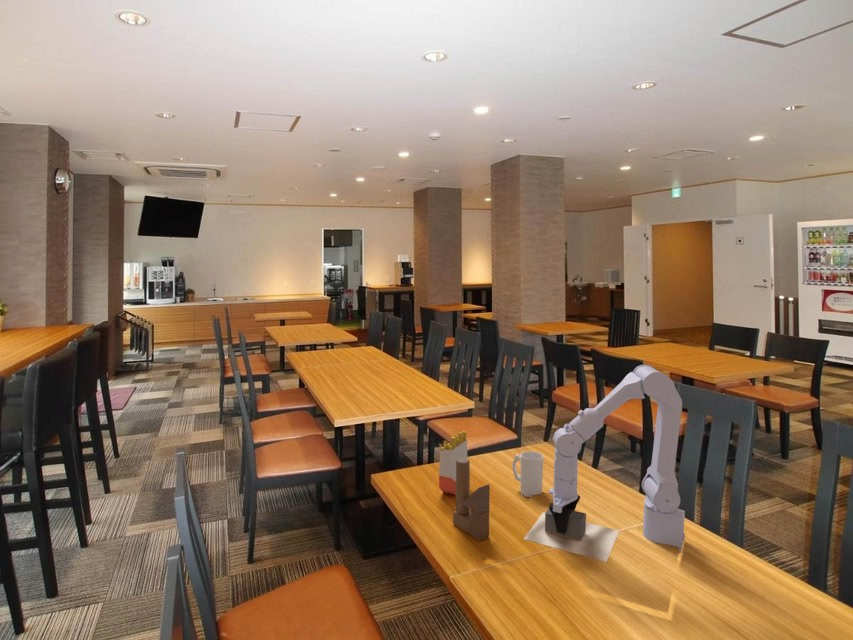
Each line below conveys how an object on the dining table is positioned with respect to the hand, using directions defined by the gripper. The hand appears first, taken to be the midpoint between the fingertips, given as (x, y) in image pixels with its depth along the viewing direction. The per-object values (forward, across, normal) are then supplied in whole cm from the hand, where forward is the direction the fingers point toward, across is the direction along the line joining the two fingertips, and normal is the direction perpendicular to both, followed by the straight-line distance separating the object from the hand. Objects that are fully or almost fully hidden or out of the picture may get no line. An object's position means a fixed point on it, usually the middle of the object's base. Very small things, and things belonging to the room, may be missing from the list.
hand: (564, 527), depth 133 cm
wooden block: (+3, +9, -22) cm, 24 cm away
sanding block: (+1, 0, 0) cm, 1 cm away
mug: (+3, -20, -17) cm, 26 cm away
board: (+2, 0, +2) cm, 3 cm away
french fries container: (+3, -10, -37) cm, 38 cm away
